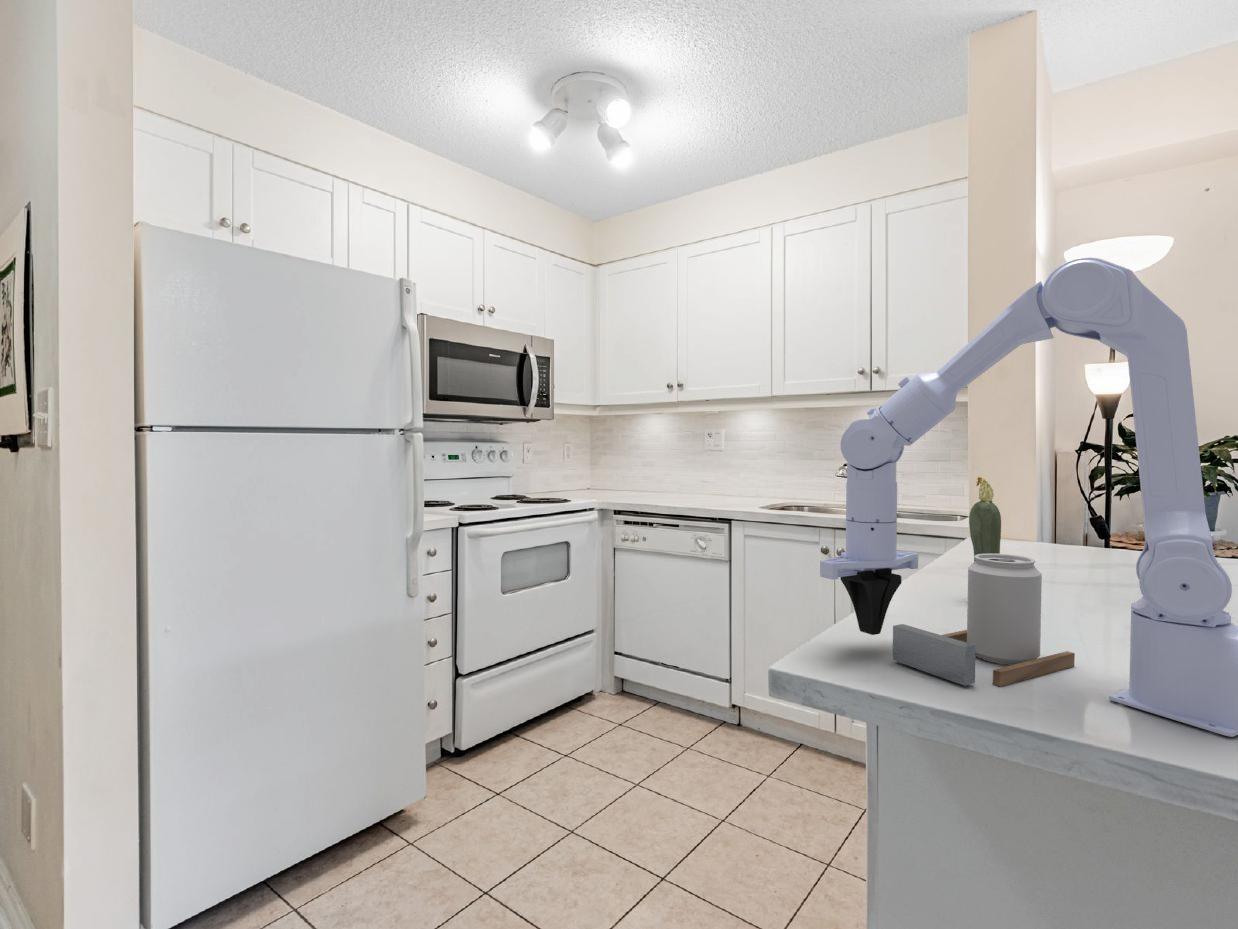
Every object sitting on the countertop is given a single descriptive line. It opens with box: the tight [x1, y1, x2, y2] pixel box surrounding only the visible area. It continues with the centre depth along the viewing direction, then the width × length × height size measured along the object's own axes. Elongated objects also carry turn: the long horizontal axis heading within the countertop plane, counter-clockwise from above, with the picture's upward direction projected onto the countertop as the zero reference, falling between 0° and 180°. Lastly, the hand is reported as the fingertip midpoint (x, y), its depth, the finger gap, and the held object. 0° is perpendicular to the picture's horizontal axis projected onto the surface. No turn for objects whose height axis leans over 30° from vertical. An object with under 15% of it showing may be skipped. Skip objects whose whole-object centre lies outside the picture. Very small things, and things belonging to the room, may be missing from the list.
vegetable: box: [968, 476, 1002, 563], centre depth 102 cm, size 4×4×20 cm
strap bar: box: [892, 623, 976, 686], centre depth 72 cm, size 9×2×4 cm, turn 27°
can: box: [966, 553, 1043, 666], centre depth 77 cm, size 8×8×12 cm
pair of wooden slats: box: [941, 629, 1076, 687], centre depth 76 cm, size 12×14×2 cm
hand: (869, 632), depth 79 cm, fingers closed
